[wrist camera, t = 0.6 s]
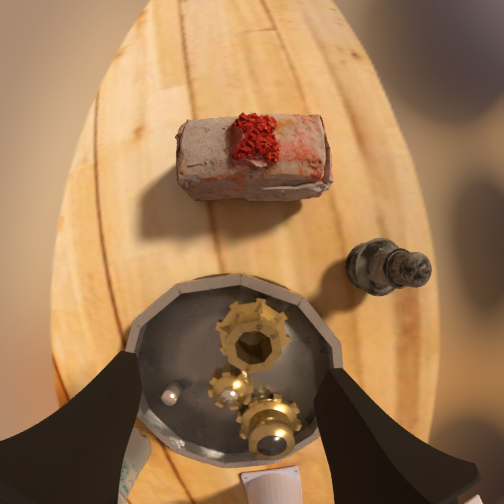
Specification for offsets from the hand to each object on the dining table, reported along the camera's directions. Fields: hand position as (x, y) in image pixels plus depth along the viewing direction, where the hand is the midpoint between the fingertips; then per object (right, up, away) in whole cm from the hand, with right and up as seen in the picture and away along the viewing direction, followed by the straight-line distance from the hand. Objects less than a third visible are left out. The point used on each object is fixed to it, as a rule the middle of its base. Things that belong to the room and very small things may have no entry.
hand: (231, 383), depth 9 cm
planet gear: (+1, -3, +18) cm, 18 cm away
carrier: (-1, -9, +19) cm, 21 cm away
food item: (+1, +13, +20) cm, 24 cm away
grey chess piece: (+14, +3, +20) cm, 24 cm away
